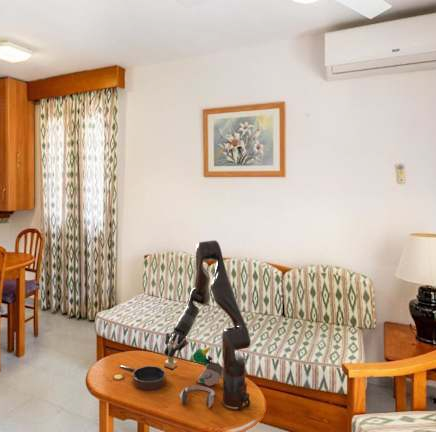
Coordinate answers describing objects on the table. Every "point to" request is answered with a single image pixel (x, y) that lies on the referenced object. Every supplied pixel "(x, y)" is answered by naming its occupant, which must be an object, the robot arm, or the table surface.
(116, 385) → the table surface
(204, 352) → the toy
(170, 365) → the green peg on base
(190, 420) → the table surface
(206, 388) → the headphones
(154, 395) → the table surface
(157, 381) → the pan
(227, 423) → the table surface
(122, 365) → the pan handle
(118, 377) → the disc
